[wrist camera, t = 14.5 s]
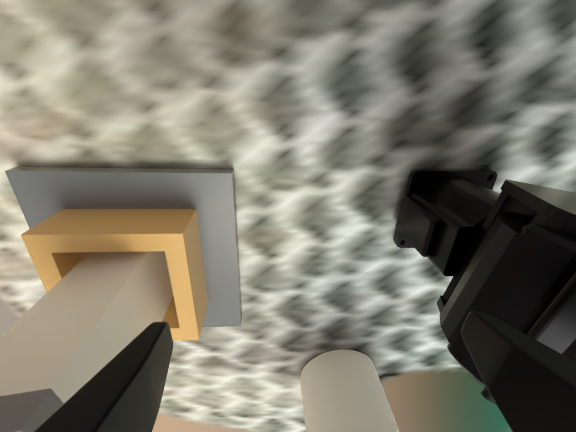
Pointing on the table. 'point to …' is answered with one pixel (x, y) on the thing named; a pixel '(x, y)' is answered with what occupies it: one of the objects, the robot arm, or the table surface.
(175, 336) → the socket plate
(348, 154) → the table surface
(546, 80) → the table surface
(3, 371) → the plug
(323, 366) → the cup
